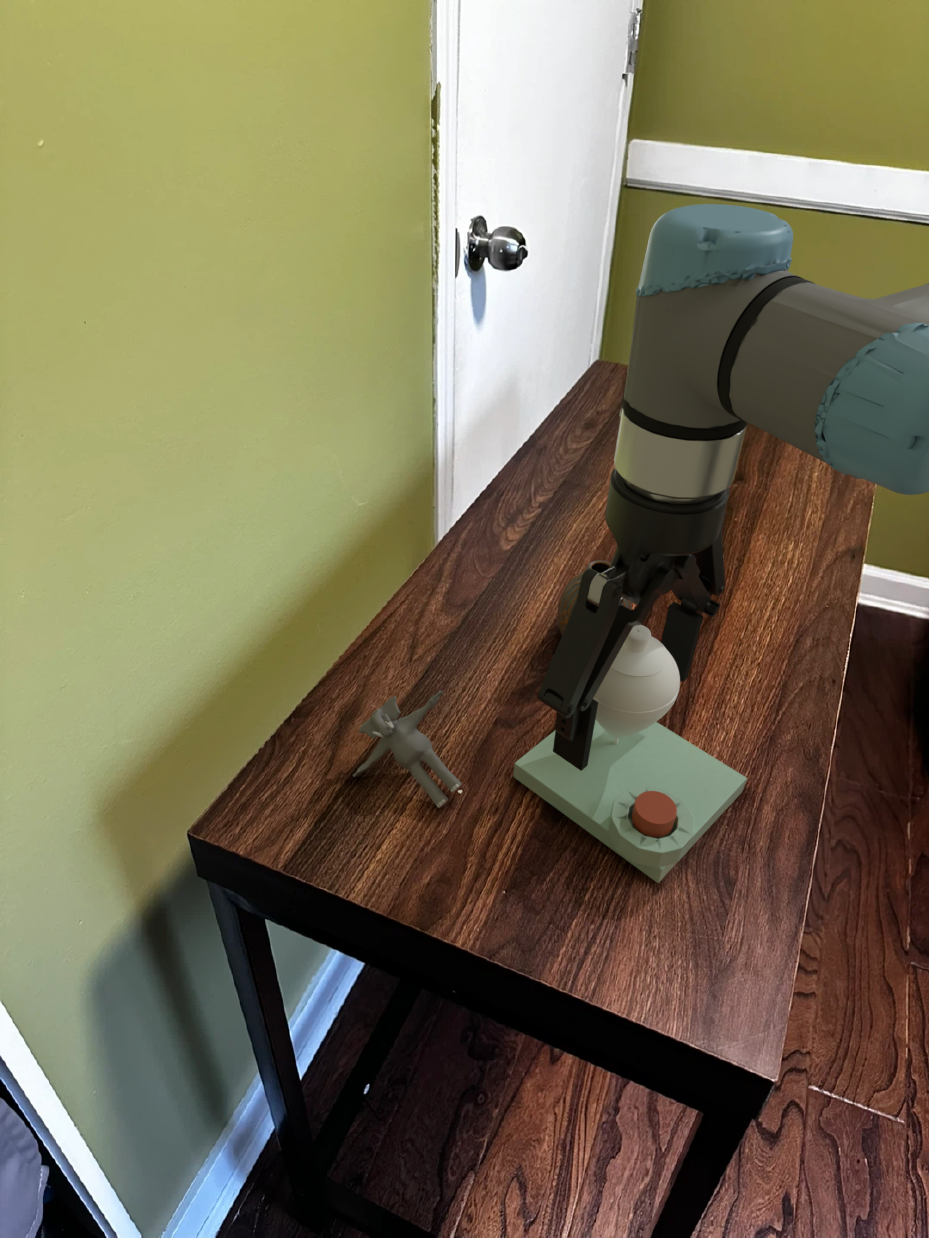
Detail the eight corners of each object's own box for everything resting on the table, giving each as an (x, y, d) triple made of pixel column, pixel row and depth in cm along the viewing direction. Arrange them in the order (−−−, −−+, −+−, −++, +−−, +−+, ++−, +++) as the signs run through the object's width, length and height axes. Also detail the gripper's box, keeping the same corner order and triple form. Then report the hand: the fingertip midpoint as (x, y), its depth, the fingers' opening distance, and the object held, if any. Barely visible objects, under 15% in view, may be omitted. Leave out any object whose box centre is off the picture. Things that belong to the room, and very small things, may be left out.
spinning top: (594, 697, 74) (613, 586, 67) (677, 734, 71) (707, 623, 63) (551, 752, 69) (567, 639, 62) (638, 794, 66) (666, 681, 58)
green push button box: (747, 794, 68) (758, 765, 66) (655, 895, 61) (664, 866, 59) (602, 703, 76) (607, 674, 74) (505, 783, 69) (507, 753, 66)
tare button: (681, 820, 62) (685, 807, 61) (657, 844, 61) (661, 831, 60) (646, 797, 64) (650, 783, 63) (623, 820, 62) (626, 806, 61)
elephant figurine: (392, 845, 64) (319, 754, 66) (418, 836, 70) (350, 753, 72) (488, 754, 63) (410, 665, 65) (506, 753, 68) (434, 671, 71)
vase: (543, 651, 81) (552, 577, 76) (568, 611, 86) (577, 538, 81) (613, 674, 79) (627, 599, 74) (634, 631, 84) (649, 557, 78)
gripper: (721, 399, 63) (671, 622, 77) (495, 525, 49) (481, 772, 62) (816, 433, 59) (746, 661, 73) (600, 581, 45) (561, 831, 59)
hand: (623, 713), depth 68 cm, fingers open, 13 cm apart
